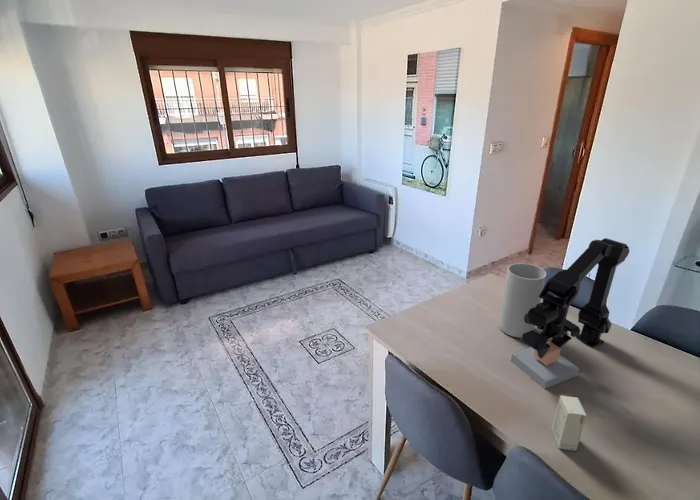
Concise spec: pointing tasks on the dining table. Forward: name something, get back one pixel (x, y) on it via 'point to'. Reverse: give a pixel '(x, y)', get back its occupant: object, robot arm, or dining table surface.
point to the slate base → (544, 368)
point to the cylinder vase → (520, 297)
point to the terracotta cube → (549, 354)
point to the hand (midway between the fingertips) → (546, 355)
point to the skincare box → (568, 422)
